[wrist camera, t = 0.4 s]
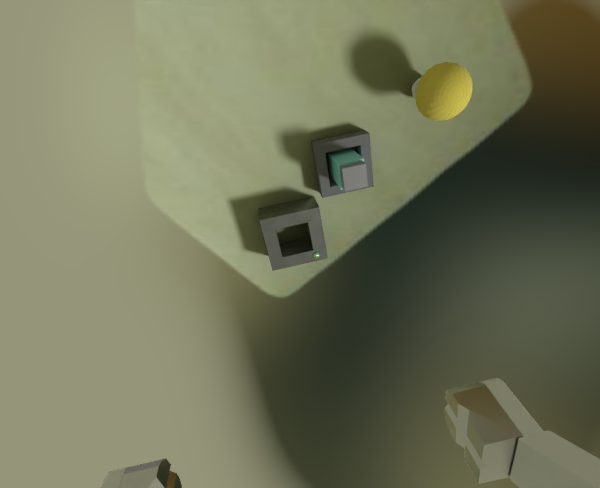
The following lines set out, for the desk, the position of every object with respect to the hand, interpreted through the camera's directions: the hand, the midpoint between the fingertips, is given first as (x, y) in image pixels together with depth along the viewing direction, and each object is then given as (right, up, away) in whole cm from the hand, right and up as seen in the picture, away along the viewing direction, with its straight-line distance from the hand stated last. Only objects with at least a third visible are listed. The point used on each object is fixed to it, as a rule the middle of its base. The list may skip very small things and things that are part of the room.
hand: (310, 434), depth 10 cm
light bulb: (+17, +28, +39) cm, 51 cm away
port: (-2, +8, +46) cm, 47 cm away
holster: (+6, +18, +42) cm, 46 cm away
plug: (+6, +18, +42) cm, 46 cm away
